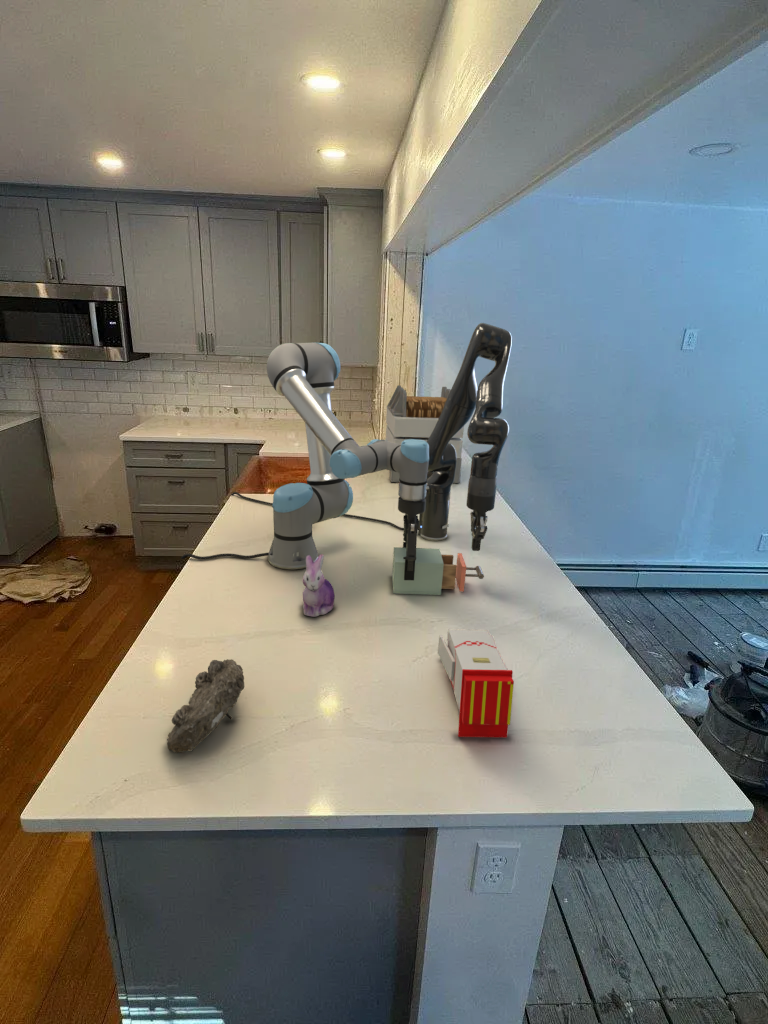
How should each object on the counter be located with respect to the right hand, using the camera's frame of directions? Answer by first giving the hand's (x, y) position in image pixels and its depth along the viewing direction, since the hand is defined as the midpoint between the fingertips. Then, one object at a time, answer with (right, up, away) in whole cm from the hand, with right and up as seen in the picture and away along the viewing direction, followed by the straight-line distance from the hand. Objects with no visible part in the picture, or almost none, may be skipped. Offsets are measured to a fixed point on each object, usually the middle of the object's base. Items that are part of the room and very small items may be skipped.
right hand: (475, 549), depth 159 cm
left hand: (-19, -6, +2) cm, 20 cm away
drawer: (-7, -10, +4) cm, 13 cm away
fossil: (-58, -28, -51) cm, 83 cm away
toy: (-8, -27, -41) cm, 50 cm away
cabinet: (-17, -11, +3) cm, 20 cm away
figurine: (-43, -15, -11) cm, 47 cm away
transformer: (-8, +29, +115) cm, 120 cm away
